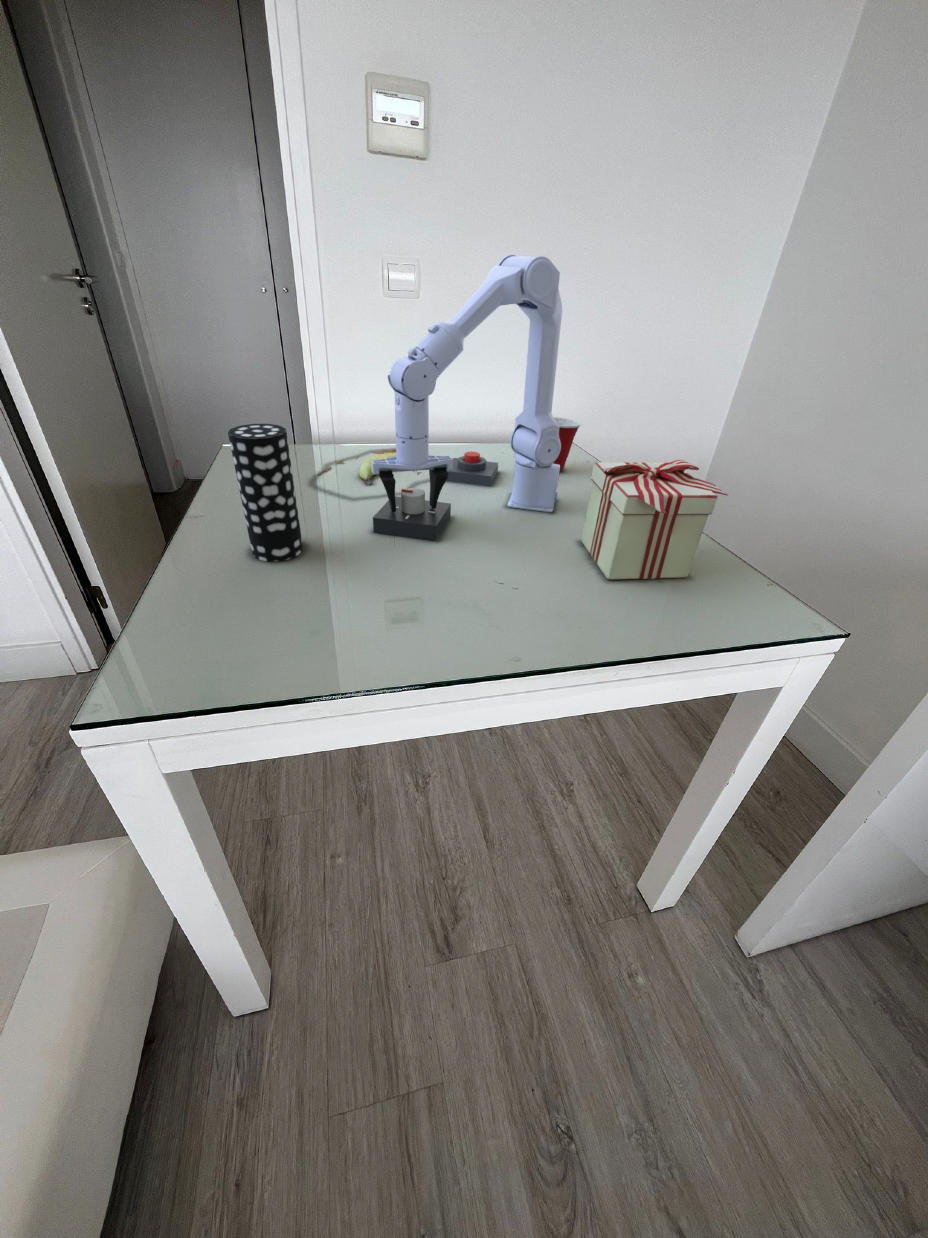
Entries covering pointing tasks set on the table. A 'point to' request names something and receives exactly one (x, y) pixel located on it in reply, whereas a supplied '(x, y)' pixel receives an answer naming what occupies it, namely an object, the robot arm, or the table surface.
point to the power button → (472, 457)
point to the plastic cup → (565, 438)
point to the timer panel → (412, 521)
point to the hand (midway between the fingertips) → (413, 508)
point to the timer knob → (412, 501)
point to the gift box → (646, 518)
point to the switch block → (473, 472)
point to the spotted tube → (267, 490)
